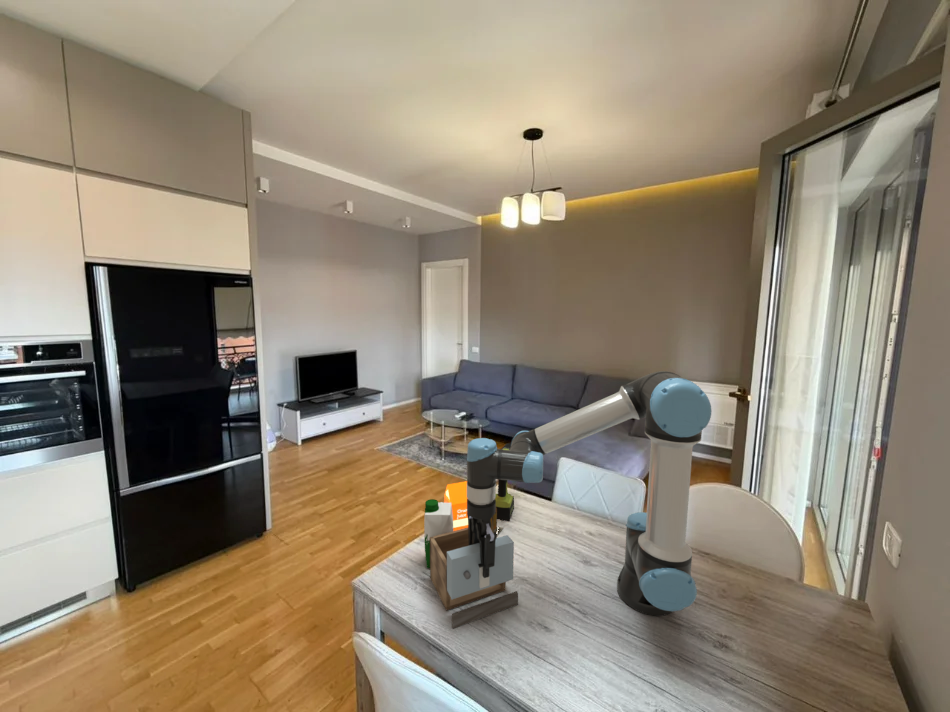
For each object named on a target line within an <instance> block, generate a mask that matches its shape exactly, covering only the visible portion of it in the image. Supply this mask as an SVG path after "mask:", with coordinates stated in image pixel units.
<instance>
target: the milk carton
mask: <svg viewBox="0 0 950 712" xmlns="http://www.w3.org/2000/svg"><path fill="white" fill-rule="evenodd" d="M423 522H424V526H423V527H424V553H425V554H424V555H425V563H426V569H430V537H433V536H437V535H440V534H444V533H448V532H452V531H453V513H452V504H451V503H444V501H443V502H442V501H441V502H439V501H438V500H437V499H435V498H434V499H433V498H430V499H427V500H426V501H425V506H424V521H423Z"/></svg>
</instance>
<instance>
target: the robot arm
mask: <svg viewBox="0 0 950 712" xmlns="http://www.w3.org/2000/svg"><path fill="white" fill-rule="evenodd" d="M710 401H711V400H710V398H709V397H708V396H707V394H706V393H705V392H704V390H703V389H702V388H701V387H700V386H699V385H697V383H694V382H693V381H691V380H690V379H689V380H688V379H686V378H684V377H682V376H680V375H679V374H677V373H676V372H671V371H669V370H668V371H667V370H659V371H655V372H651V373H649V374H646V375H643V376H642V377H641V376H640V377H639V378H637V379H635V380H633V381H631V382H630V381H629V383H626V384H623V385H621V386H620V388H619V390H618V391H617V392H615V393H614V394H611V395H609V396H606V397H604V398H602V399H599V400H597V401H594V402H593V403H590V404H588V405H586V406H583V407H581V408H579V409H577V410H575V411H572V412H570V413H568V414H566V415H564V416H560V417H559V418H556V419H554V420H551V421H550V422H547V423H545V424H543V425H541V426H538V427H536V428H534V429H531V430H521V431H518V432H517V433H516V434H515V435H514V437H513V438H512V439H511V442H510V444H511V448H510V450H503V449H502V448H501V449H500V448H498V447H497V443H496V441H495V440H493V439H491V438H490V439H489V438H486V437H480V438H478V437H477V438H474V439H472V440H470V441H469V442H468V444H467V450H466V451H467V452H466V453H467V454H466V479H467V480H466V481H467V498H468V499H467V516H468V540H469V545H473V544H477V543H479V544H480V558H481V563H480V564H478V566H479V587H480V588H483V587H486V586H489V579H490V567H493V566H494V564H495V541H496V538H498V536H497V534H496V532H494V533H493V532H492V530H491V520H490V519H491V518H492V516H493V515H494V514H495V512H496V500H495V497H496V494H497V491H496V489H497V487H498V484H497V480H508V482H517V483H518V482H520V483H525V484H530V483H531V484H532V483H534V484H538V483H539V484H540V483H541V482H543V478H544V476H543V475H544V455H547V454H549V453H552V452H554V451H556V450H558V449H562V448H564V447H566V446H568V445H570V444H573V443H576V442H578V441H580V440H582V439H585V438H588V437H590V436H592V435H595V434H597V433H600V432H603V431H604V430H607V429H609V428H611V427H614V426H616V425H619V424H622V423H623V422H626V421H628V420H631V419H634V420H641V419H643V418H645V419H644V420H645V421H644V435H646V437H648V439H650V453H649V454H650V456H649V470H648V487H647V503H646V512H642V511H641V512H640V511H639V512H634V513H631V514H629V515H628V517H627V519H626V524H625V527H626V529H625V530H626V531H625V533H626V534H625V553H624V554H625V555H624V563H623V567H622V568H621V571H620V572H619V575H618V576H617V582H616V591H617V594H618V596H619V597H620V599H621V600H622V601H623V602H624V603H625V604H626V605H627V606H628V607H630V608H632V609H634V610H635V611H637V612H640V613H642V614H645V615H649V616H655V617H656V616H657V617H658V616H659V617H660V616H666V615H670V614H671V613H672V612H677V611H679V612H680V611H682V610H684V609H685V608H688V607H690V606H691V605H693V603H694V602H695V600H696V599H697V593H698V590H697V589H698V588H697V586H696V581H695V579H694V578H693V576H692V563H693V562H692V561H693V560H692V559H693V550H692V548H691V546H690V545H689V543H687V542H686V540H687V539H686V538H687V527H688V525H687V524H688V512H689V500H690V485H691V474H692V473H691V472H692V459H693V447H694V446H695V445H697V444H698V443H700V442H701V441H702V431H703V430H704V429H705V428H707V426H708V425H709V423H710V421H711V418H712V404H711V402H710Z"/></svg>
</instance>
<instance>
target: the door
mask: <svg viewBox="0 0 950 712" xmlns="http://www.w3.org/2000/svg"><path fill="white" fill-rule="evenodd" d="M514 543H515V541H513V539H512V538H511V537H510V536H509V534H506V535H503V536H499V537H498V536H497V538H496V541H495V564H494V566H493V567H490V579H489V586H486V587H483V588H480V587H479V566H478V564H480V563H481V558H480V544H479V543H477V544H473V545H469V546H466V547H462V548H458V549H455V550H451V551H447V591H448V593H449V595H450V597H451V599H455V598H458V597H461V596H464V595H467V594H470V593H473V592H476V591H479V590H482V589H485V588H488V587H491V586H494V585H497V584H500V583H503V582H509V581H513V580H514V551H515V550H514V549H515V545H514Z"/></svg>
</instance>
